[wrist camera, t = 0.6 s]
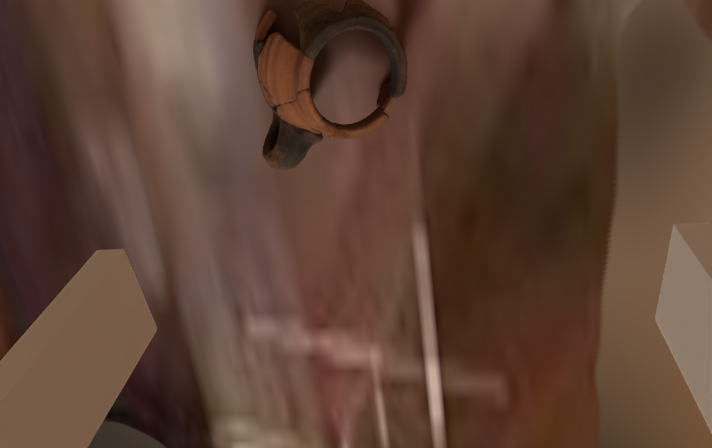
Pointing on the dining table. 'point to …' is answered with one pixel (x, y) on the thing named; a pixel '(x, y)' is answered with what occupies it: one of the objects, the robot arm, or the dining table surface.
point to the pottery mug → (293, 71)
